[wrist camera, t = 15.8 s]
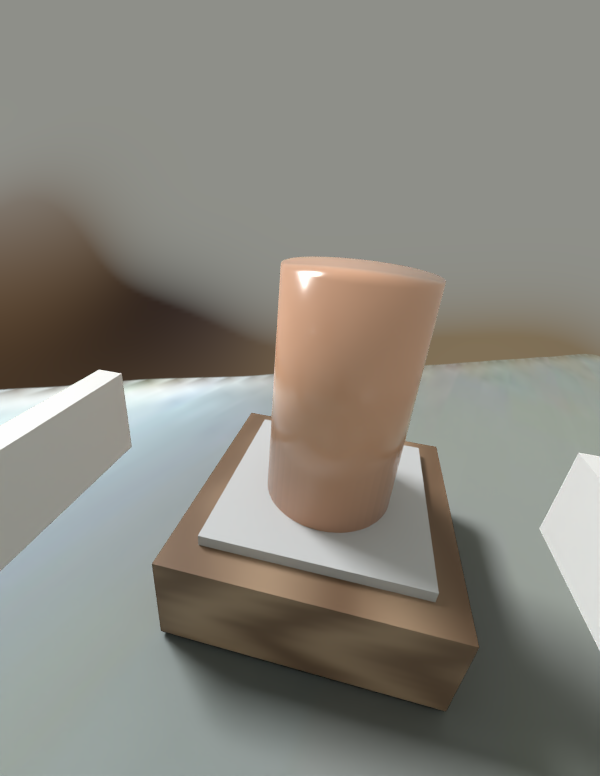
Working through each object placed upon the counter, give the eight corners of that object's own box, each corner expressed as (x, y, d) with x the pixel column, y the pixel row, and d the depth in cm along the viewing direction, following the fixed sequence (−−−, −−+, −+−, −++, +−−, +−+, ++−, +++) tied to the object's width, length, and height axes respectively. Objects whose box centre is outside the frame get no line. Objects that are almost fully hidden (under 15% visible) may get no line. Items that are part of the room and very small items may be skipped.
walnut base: (160, 630, 19) (150, 554, 16) (249, 464, 31) (251, 406, 29) (445, 711, 17) (483, 638, 14) (420, 499, 29) (438, 440, 27)
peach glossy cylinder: (250, 515, 19) (260, 271, 14) (284, 439, 25) (299, 252, 20) (390, 546, 18) (459, 297, 13) (389, 460, 24) (435, 268, 19)
